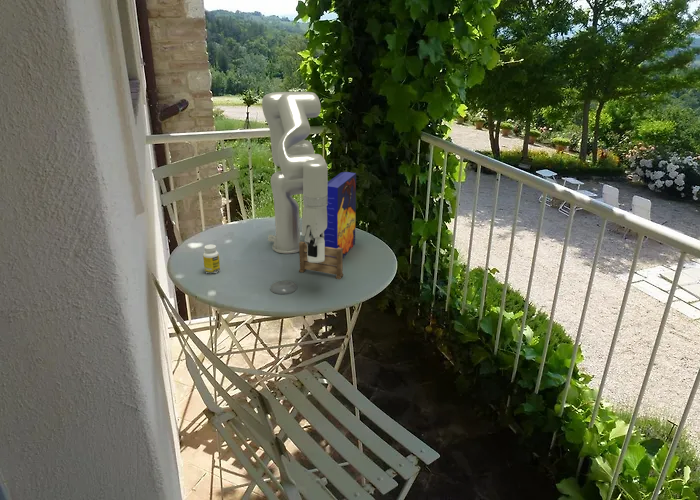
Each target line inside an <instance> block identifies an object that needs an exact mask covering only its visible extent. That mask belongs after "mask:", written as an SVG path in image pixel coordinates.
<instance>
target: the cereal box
mask: <svg viewBox="0 0 700 500" xmlns="http://www.w3.org/2000/svg"><path fill="white" fill-rule="evenodd" d="M356 192H357V173H356V172H349V171H343V172H340V173H338V174H337V175H336V176H333V178H331V179H330V180H328V194H327V195H328V205H327V228H326V230H325V232H324V241H325V247H331V248H338V247H339V248H343V259H344V258H345V257H346V256H347V254H349V253H350V251H351V250H352V249H353V247H354V246H355V245H356V210H357V209H356V208H357V205H356V203H357V201H356V200H357V198H356V197H357V193H356ZM325 256H327V255H325ZM331 257H333V256H331Z"/></svg>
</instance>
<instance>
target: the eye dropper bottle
mask: <svg viewBox="0 0 700 500" xmlns="http://www.w3.org/2000/svg"><path fill="white" fill-rule="evenodd" d="M311 236H313V235H312V234H311ZM310 239H311V240H313V241H314V239H313V238H310ZM316 245H317V257H311V256H308V245H307V259H308V262H311V263H319V262H323V261H324V260H325V241H324V238H322V237H320V235H319V236H318V237H317V241H316Z"/></svg>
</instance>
